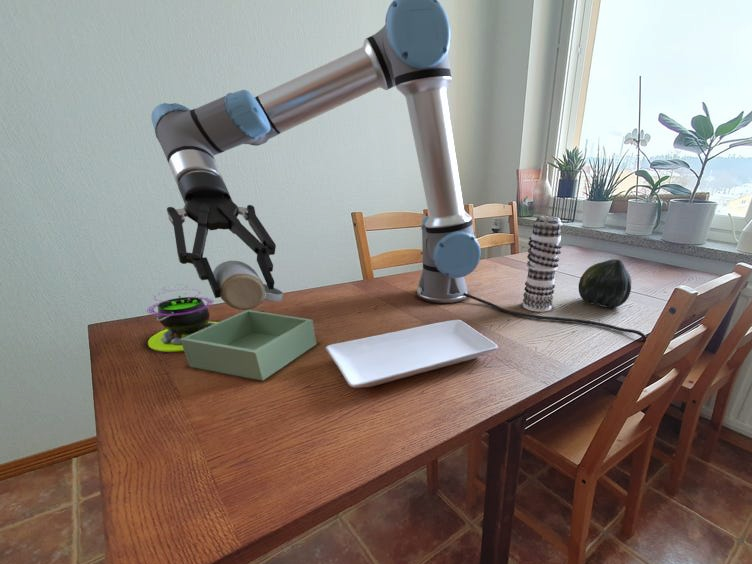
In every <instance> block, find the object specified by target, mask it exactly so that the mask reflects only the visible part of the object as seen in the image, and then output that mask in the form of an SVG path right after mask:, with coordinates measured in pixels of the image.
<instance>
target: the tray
mask: <svg viewBox="0 0 752 564" xmlns="http://www.w3.org/2000/svg"><path fill="white" fill-rule="evenodd" d="M498 349H499V346H498V344H497V343H495V342H493V341H492V340H491V339H489V338H488V337H486V336H484V334H482V333H480V332H479V331H477V329H475V328H473V327H472V326H470V325H469V324H467V323H466V322H465V321H463V320H461V319H451V320H446V321H440V322H435V323H430V324H425V325H420V326H416V327H411V328H406V329H401V330H396V331H391V332H386V333H382V334H377V335H372V336H367V337H363V338H357V339H352V340H348V341H344V342H336V343H332V344H329V345H326V346H325V350H326V352H327V354H328V355H329V356H330V358H331V359H332V361H333V362H334V364H335V365H336V367H337V368H338V370H339V371H340V373H341V375H342V376H343V378H344V379H345V381H346V383H347V384H348V386H349V387H351V388H356V389H357V388H358V389H359V388H372V387H376V386H379V385H383V384H387V383H391V382H394V381H398V380H401V379H405V378H408V377H413V376H415V375H419V374H423V373H427V372H430V371H435V370H438V369H442V368H445V367H450V366H453V365H457V364H460V363H465V362H468V361H473V360H475V359H478V358H479V357H482V356H486V355H488V354H490V353H492V352H495V351H497V350H498Z"/></svg>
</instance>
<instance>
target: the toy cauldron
mask: <svg viewBox="0 0 752 564" xmlns="http://www.w3.org/2000/svg"><path fill="white" fill-rule="evenodd" d="M178 285H179V286H180V284H177V286H178ZM181 286H184V287H182V288H181V289H174V290H173V289H172V290H171V289H166V288H168V287H169V285H168V286H165V287H162V292H161V293H159V295H160V294H161V295H162V294H165V293H166V292H168V293H169V292H175V291H182V290H186V291H188V290H189V291H190V290H191V291H194V292H195V291H197V292H198V293H201V291H199V290H198V289H193V288H192V289H191V288H190V289H189V288H187V287H188V285H186V284H182V283H181ZM163 291H164V292H163ZM184 295H187V292H185V293H184ZM153 300H154V301H157V302H156V303H155V304H153V305H151V306H149V307H147V309H146V312H147V314H149V315H153V316H155V315H156V316H157V318H156V321H157V322H159V323H160V324H161V325H162V327H164V328H165V329H163V330H161V331H159V332H157V333H155V334H154V335H152V336H151V337H150V338H149V339H148V341H147V345H148V348H150V349H151V350H154V351H158V352H162V353H163V352H166V353H177V352H179V353H180V352H184V349H183V346H182V344H181V341H180V339H182V338H184V337H186V336H188V335H191V334H193V333H195V332H198V331H200V330H202V329H204V328H207V327H209V326H211V325H214V324H216V323H218V321H210V315H211V314H210V311H209V307H211V306H213V304H214V300H212V298H208V297H205V296H204V297H203V296H201V297H200V296H198V294H196V295H194V296H184V297H182V295H178V296H177V297H176V298H171V299H167V300H160V301H158V299H156V295H154V296H153ZM204 301H206V304H205V302H204ZM156 307H157V311H155V308H156Z"/></svg>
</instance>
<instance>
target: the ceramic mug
mask: <svg viewBox="0 0 752 564" xmlns="http://www.w3.org/2000/svg"><path fill="white" fill-rule="evenodd" d="M212 272H213V274H214V277H215V279H216V282H217V284H218V287H219V289H220V297H219V298H220V299H221V300H222V301H223V302H224V303H225V304H226V305H227V306H229V307H230V308H233V309H236V310H239V311H246V310H252V309H255V308H257V307H259V306H260V305H261V304H262V302H263V301H268V302H274V303H279V302H281V301H282V300H283V296H284V293H283V291H282V290H280V289H278V288H276V287H274V289H271V290H269V288H268V286H267V283H263V280H262V279H261V278H260V276H259V274H258V273H257V272H256V270H255V269H254V268H253V267H251V266H250V265H249V264H247V263H245V262H243V261H240V260H227V261H223V262H221V263H219V264H218V265H217V266H216V267H214V269H213V270H212Z"/></svg>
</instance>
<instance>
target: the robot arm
mask: <svg viewBox="0 0 752 564" xmlns="http://www.w3.org/2000/svg"><path fill="white" fill-rule="evenodd" d="M450 47H451V27H450V21H449V18H448V15H447V12H446V11H445V8H444V7H443V5H442V4H441V3H440V2H439V1H438V0H392V1H391V3H390V4H389V6H388V8H387V11H386V14H385V24H384V26H383V27H382V28H381V29H379V30H378V31H377V32H375V33H374V34H372V35H371V36H368V37H366V38H364V40H363V44H362V46H361V47H360V48H357V49H355V50H353V51H352V52H349V53H347V54H345V55H342V56H340V57H338V58H336V59H334V60H332V61H329V62H328V63H325V64H323V65H320V66H319V67H317V68H314V69H312V70H310V71H308V72H306V73H304V74H302V75H299V76H297V77H295V78H293V79H290V80H288V81H286V82H283V83H282V84H280V85H278V86H276V87H273V88H271V89H269V90H267V91H265V92H262V93H260V94H258V95H257V96H254V95H253V94H252V92H250V91H248V90H247V89H240V90H238V91H237V90H236V91H235V92H229V93H226V95H224V96H222V97H219V98H217V99H214V100H212V101H209V102H208V103H205V104H203V105H201V106H198V107H196V108H193V109H190V108H188V107H187V106H185V105H183V104H180V103H177V102H173V103H167V102H162V103H159V104H158V105H156V106H155V107H154V108H153V110H152V111H151V116H150V117H151V123H152V125H153V128H154V134H155V138H156V139H157V141H158V143H159V145H160V147H161V149H162V152H163V153H164V156H165V158H166V161H167V163H168V166H169V167H170V171H171V174H172V177H173V178H174V181H175V184H176V185H177V188H178V191H179V193H180V196H181V198H182V201H183V203H184V207H183V208H177V209H176V208H175V207H173V206H168V207H167V208H166V212H167V217H168V220H169V221H170V223H171V225H172V226H173V231H174V237H175V238H174V239H175V244H176V245H175V246H176V251H177V253H176V254H177V257H178V262H179V263H180V264H181V265H186V264H191V265H193V267H194V269H195V271H196V273H197V276H198V278H199V279H200V281H208V284H209V287H210V288H211V290H212V293H213V296H214V298H215V299H219V298H221V297H220V289H219V287H218V284H217V282H216V279H215V277H214V274H213V270H212V267H211V265H210V263H209V260H208V257H205V256H204V253H205V247H206V242H207V236H208V235H209V231H217V230H229V231H230V232H231V233H232V234H233V235H236V236H237V237H238V238H239V239H240V240H241V241H242V242H243V243H244V244H245V246H247V247H248V248H249V249H251V251H253V253H254V254H256V263H257V265H258V267H259V269H260V272H261V274H262V276H263V279H264V281H265V284H266V285H267V286H268V288H269V290H271V289H274V288H275V287H274V286H275V279H274V277H273V275H272V273H271V272H273V269H274V263H273V261H272V259H271V256H274V255H275V254H276V247H277V245H276V243H275V241H274V240H273V239H272V237H271V236H270V234H269V232H268V231H267V230H266V228H265V226H264V225H263V224H262V222H261V220H260V219H259V217H258V215H257V214H256V209H255V207H254V205H252V204H248V205H247V206H246V207H242V206H238V205H237V203H235V202H234V200H233V199H232V196H231V193H230V192H229V189H228V188H227V187H228V186H227V185H226V182H225V181H224V178H223V176H222V173H221V171H220V169H219V167H218V165H217V162H216V160H215V156H216V155H219V154H222V153H225V152H226V151H229V150H231V149H234V148H236V147H239V146H241V145H250V146H255V147H256V146H257V147H258V146H261V145H264V144H266V143H268V141H270V139H273V138H274V137H277V136H279V135H281V134H282V133H285V132H288V130H291V129H293V128H295V127H297V126H299V125H301V124H304V123H306V122H308V121H310V120H313V119H314V118H317V117H319V116H321V115H323V114H325V113H328V112H329V111H332V110H334V109H337V108H339V107H340V106H342V105H345V104H347V103H349V102H352V101H353V100H355V99H357V98H360V97H362V96H364V95H366V94H368V93H371V92H373V91H375V90H377V89H379V88H380V89H383V90H385V91H388V90H390V89H392V88H395V89H396V90H397V91H398V92H400V93H401V94H402V95H403V96H404V98H405V101H406V107H407V111H408V116H409V122H410V126H411V132H412V136H413V141H414V146H415V147H414V148H415V151H416V155H417V162H418V166H419V170H420V176H421V181H422V186H423V190H424V197H425V201H426V207H427V211H428V215H425V216H423V218H422V220H421V227H420V228H421V240H422V241H421V242H422V244H421V245H422V246H421V247H422V270H421V271H422V272H421V275H420V278H419V281H418V285H417V290H416V292H417V293H416V295H417V297H418V298H419V299H421V300H423V301H424V302H429V303H435V304H452V303H458V302H462V301H465V300H466V299H467V298H470V299H472V300H474V301H477V302H480V303H482V304H485V305H487V306H490V307H491V308H494V309H496V310H499V311H501V312H504V313H507V314H510V315H514V316H519V317H525V318H531V319H537V320H550V321H561V322H570V323H571V322H572V323H580V324H587V325H594V326H600V327H605V328H608V329H612V330H616V331H619V332H624V333H631V334H635V335H638V336H640V337H641V338H642V339H643V340H644V341H645V340H646V338H648V336H647V335H646V334H644V333H643V332H641V331H639V330H636V329H631V328H625V327H620V326H615V325H612V324H608V323H603V322H599V321H595V320H594V321H593V320H587V319H579V318H568V317H557V316H547V315H536V314H530V313H525V312H518V311H514V310H511V309H507V308H505V307H501V306H500V305H497V304H494V303H492V302H490V301H488V300H484V299H482V298H480V297H477V296H474V295H471V294H469V293H468V287H467V283H466V280H465V277H467V276H468V275H470V274H471V273H473V272H474V271H475V270H476V268H477V267H478V265H479V263H480V261H481V258H482V257H481V255H482V251H481V246H480V243H479V241H478V239H477V238H476V237H475V233H474V225H473V218H472V216H471V214H469V213H468V212H467V211H466V210H465V208H464V201H463V200H464V199H463V194H462V188H461V181H460V176H459V169H458V161H457V154H456V148H455V142H454V136H453V129H452V122H451V115H450V107H449V102H448V95H447V89H448V87H449V86H450V83H452V72H451V65H450V58H449V50H450ZM239 215H240V216H242V218H243V219H244V221H247V223H248V224H249V225H248V226H250V228H251V229H252V231H253V232H254V234H255V235H256V236H255V235H254V234H253V233H252V232H250V230H249V229H248V228H246V226H245V225H243V224H242V223H241V221H240V219H239V218H238V216H239ZM186 217H187V218H189V219H190V220H192V221H193V222H194V223H196V224H197V226H196V232H195V237H194V242H193V247H192V251H191V252H188V251H187V246H186V239H185V232H184V226H183V224H184V223H185V222H186Z"/></svg>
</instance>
